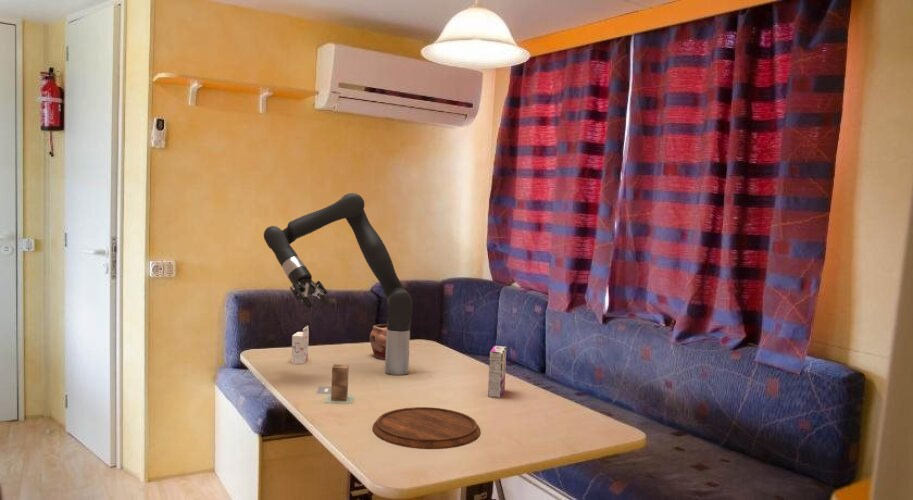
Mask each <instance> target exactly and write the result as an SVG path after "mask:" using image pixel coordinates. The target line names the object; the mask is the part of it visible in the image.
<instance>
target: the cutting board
mask: <svg viewBox="0 0 913 500" xmlns="http://www.w3.org/2000/svg"><path fill="white" fill-rule="evenodd" d="M372 433H373V434H374V435H375V436H376V437H377V438H378V439H380V440H382V441H384V442H386V443H389V444H392V445H395V446H399V447H404V448H405V447H406V448H412V449H419V450H420V449H421V450H440V449H441V450H442V449H452V448H458V447H461V446H466V445H469V444H471V443H473V442H474V441H476V440H477V439H478V438H479V437H480V436H481V428H480V426H479V425H478V423H477V421H476V420H475V419H474V418H473V417H472V416H470V415H468V414H465V413H463V412H459V411H456V410H452V409H448V408H440V407H429V406H428V407H426V406H425V407H424V406H423V407H422V406H420V407H419V406H417V407H414V406H413V407H405V408H404V407H403V408H397V409H394V410H390V411H387V412H385V413H382V414H381V415H379V416H378V418H377V419H376V420H375V421H374V423H373V425H372Z"/></svg>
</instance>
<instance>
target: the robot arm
mask: <svg viewBox="0 0 913 500" xmlns="http://www.w3.org/2000/svg"><path fill="white" fill-rule="evenodd" d="M340 220H346V221H347V223H348V225H349V226H350V228H351V230H352V231H353V234H354V236H355V239H356V243H357V244H358V246H359V249H360V251H361V253H362V255H363V258H364V259H365V261H366V263H367V265H368V267H369V269H370V270H371V272H372V273H373V275H374V276H375V278H376V279H377V280H378V283H379V284H380V286H381V288H382V290H383V293H384V296H385V298H386V301H387V304H388V309H387V322H386V325H387V336H386V358H385V359H384V360H385V362H384V365H385V366H384V373H385V374H387V375H392V376H395V375H396V376H402V375H409V364H410V363H409V361H410V340H411V324H412V313H413V299H412V296H411V294H410V293H409V292H408V290H407V289H405V287H404V286H403V284H402V282H401V281H400V279H399V278H398V275H397V273H396V270H395V267H394V263H393V260H392V258H391V255H390V253H389V251H388V249H387V247H386V245H385V243H384V242H383V239H382V238H381V237H380V235H379V234H378V233H377V230H375V228H374V226H372V224H371V223H370V221H369V219H368V217H367V213H366V211H365V200H364V199H363V197H362V196H361V195H360V194H357V193H354V192H352V193H351V192H350V193H346V194H345V195H343V196H342V197H341V198H340V199H338V200H337V201H336V202H334V203H332V204H330V205H328V206H326V207H324V208H322V209H319V210H316V211H313V212H310V213H307V214H305V215H302V216H300V217H298V218H295V219H293V220H291V221H289V222H288V223H287V226H286V227H285V228H284V229H281V228H279V227H278V226H275V225H270V226H268V227H266V228H265V230H264V232H263V239H264V242H265V243H266V245H267V247H268V248H269V249H270V250H271V251H272V252H273V253H274V256H275V258H276V260H277V261H278V264H280V267H282V270H283V272H284V274H285V275H286V277H287V278H288V279H289V281H290V283H291V286H290V287H289V288H290V290H291V292H292V295H294V298H295V299H296V300H297V301H299V300H300V301H301V302H302V303H304V305H305V307H307V309H309V310H311V309H312V308H313V307H314V304H313V302H312V301H311V299H310V298H309V296H308V295H312V296H313V297H317V298H318V299H319V300H320V302H321V304H322V305H323V306H324V307H327V306H329V305H330V302H329V299H328V298H327V297H326V295H327V294H328V290H327V289H326V288H325V286H324V285H323V283H322V282H321V281H320V280H317V281H316V282H314V280H313V279H312V273H311V272H310V271H309V269H308V267H307V266H306V264H305V263H304V262H303V259H301V258H300V257H299V256H298V254H297V252H296V251H295V249H294V248H293V247H292V245H291V244H292V243H294V242H295V241H296V240H297V239H299V238H302V237H305V236H307V235H309V234H311V233H312V234H313V232H316V231H317V230H319V229H321V228H324V227H325V226H328V225H330V224H332V223H334V222H337V221H340Z"/></svg>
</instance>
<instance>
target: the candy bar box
mask: <svg viewBox="0 0 913 500" xmlns="http://www.w3.org/2000/svg"><path fill="white" fill-rule="evenodd" d="M488 361H489V362H488V385H487V386H488V389H487V397H488V398H495V399H501V398H502V396H503V394H504V392H505V390H506V389H505V388H506V387H505V386H506V369H507V368H506V367H507V366H506V364H507V363H506V362H507V346H501V345H493V347H492V349H490V351H489V359H488Z"/></svg>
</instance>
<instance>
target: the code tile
mask: <svg viewBox="0 0 913 500" xmlns="http://www.w3.org/2000/svg"><path fill="white" fill-rule="evenodd" d="M319 394H320V395H331V386H322V385H321V386H318V388H317V391H316V395H319Z"/></svg>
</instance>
